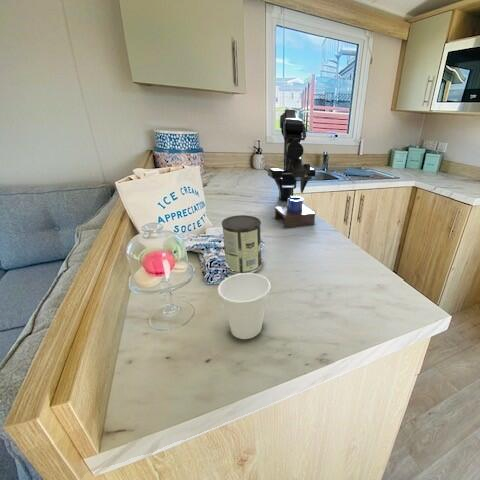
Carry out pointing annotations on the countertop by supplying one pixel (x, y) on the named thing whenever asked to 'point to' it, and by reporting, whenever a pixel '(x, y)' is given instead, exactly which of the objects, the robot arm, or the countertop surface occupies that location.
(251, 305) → the cup
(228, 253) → the coffee can
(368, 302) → the countertop surface
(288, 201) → the ramekin
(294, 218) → the white-topped brown block
